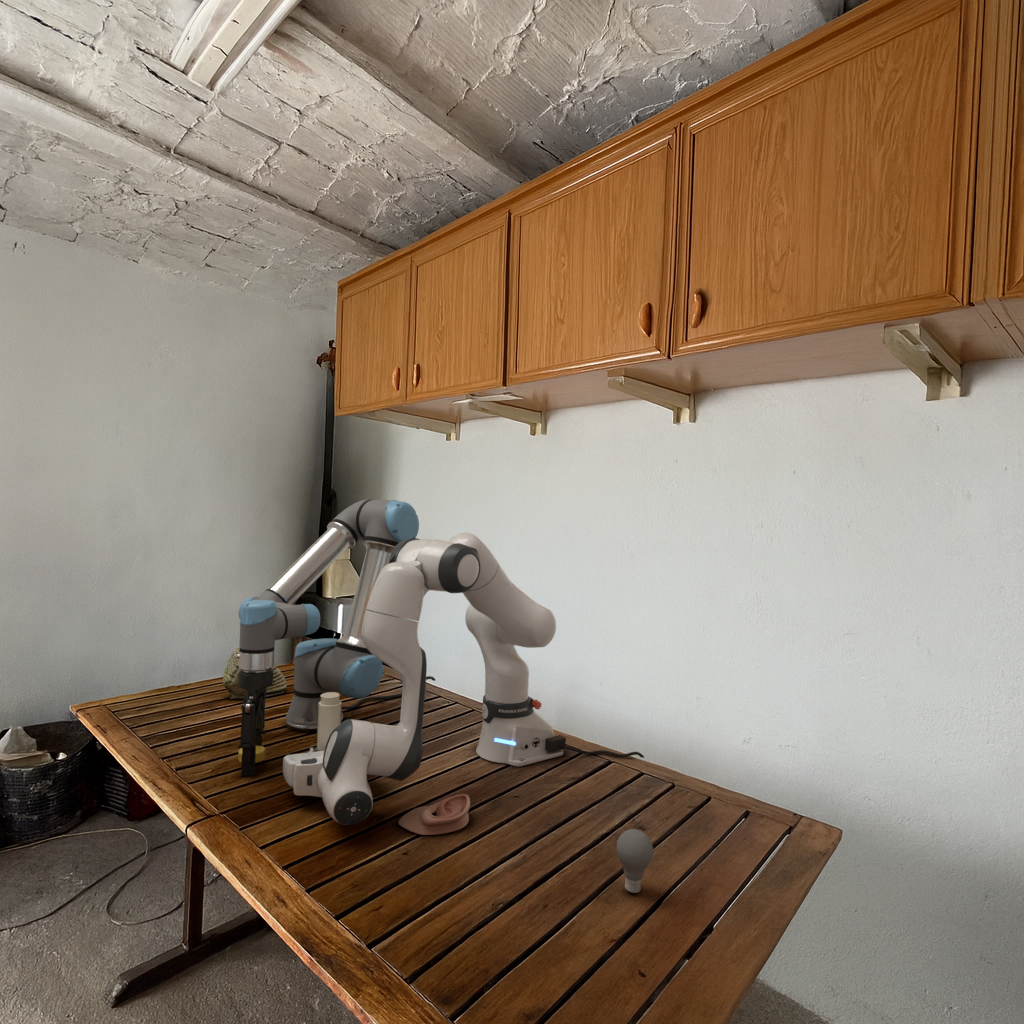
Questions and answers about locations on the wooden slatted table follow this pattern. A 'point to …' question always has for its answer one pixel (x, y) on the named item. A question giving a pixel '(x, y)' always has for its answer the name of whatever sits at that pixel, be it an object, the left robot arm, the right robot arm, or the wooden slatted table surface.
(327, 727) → the beige cylinder
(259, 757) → the lid
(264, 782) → the wooden slatted table surface
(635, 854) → the light bulb
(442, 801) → the anatomical model
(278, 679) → the fossil
